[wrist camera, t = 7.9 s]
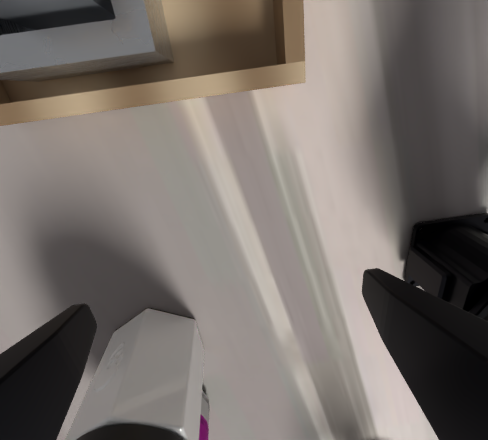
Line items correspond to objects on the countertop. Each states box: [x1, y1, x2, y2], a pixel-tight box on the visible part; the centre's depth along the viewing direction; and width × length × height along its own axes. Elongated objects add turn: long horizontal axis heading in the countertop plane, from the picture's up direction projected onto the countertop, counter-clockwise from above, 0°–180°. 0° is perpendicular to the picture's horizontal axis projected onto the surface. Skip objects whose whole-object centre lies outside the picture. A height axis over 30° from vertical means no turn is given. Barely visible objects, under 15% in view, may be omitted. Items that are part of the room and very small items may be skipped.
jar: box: [65, 308, 205, 440], centre depth 21 cm, size 9×8×12 cm
